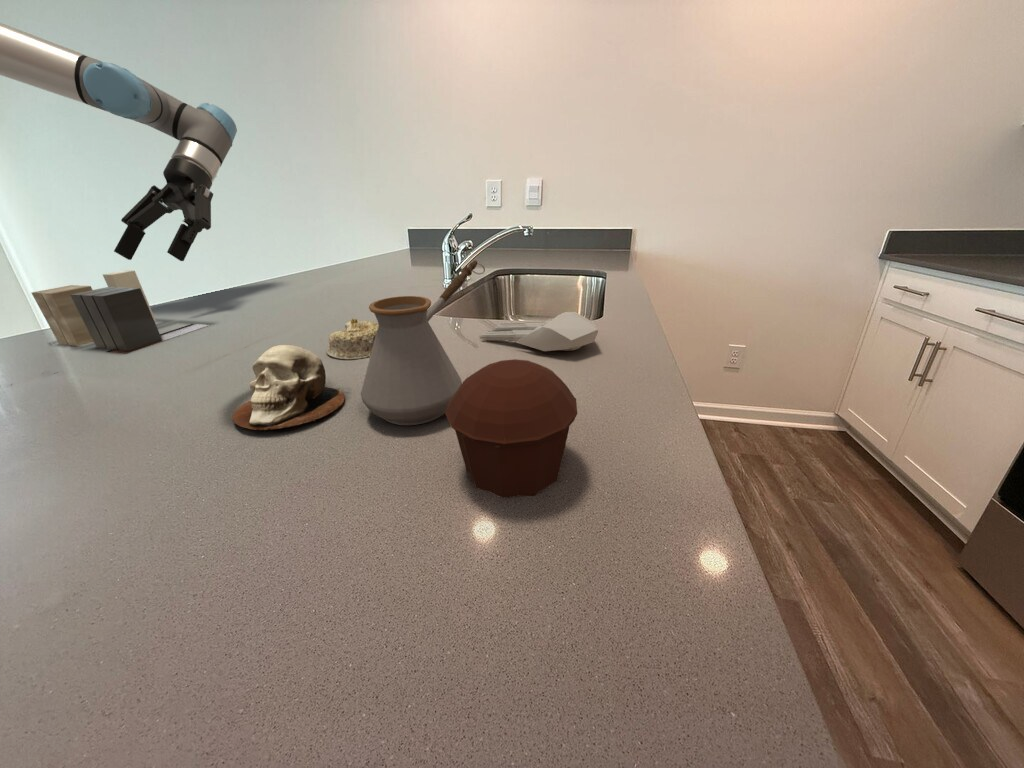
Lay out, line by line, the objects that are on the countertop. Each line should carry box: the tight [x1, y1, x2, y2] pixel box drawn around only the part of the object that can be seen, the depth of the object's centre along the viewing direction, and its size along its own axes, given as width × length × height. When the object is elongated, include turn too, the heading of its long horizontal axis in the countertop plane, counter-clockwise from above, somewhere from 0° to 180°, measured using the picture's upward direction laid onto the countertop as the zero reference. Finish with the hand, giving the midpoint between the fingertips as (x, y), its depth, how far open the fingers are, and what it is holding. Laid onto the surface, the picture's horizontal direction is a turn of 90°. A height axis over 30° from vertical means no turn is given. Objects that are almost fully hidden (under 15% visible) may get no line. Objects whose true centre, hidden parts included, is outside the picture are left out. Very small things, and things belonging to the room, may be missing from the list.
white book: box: [102, 269, 157, 323], centre depth 77 cm, size 2×4×10 cm, turn 165°
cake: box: [325, 318, 379, 360], centre depth 66 cm, size 10×10×5 cm
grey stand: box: [71, 286, 211, 355], centre depth 70 cm, size 8×15×10 cm, turn 166°
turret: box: [478, 311, 599, 352], centre depth 67 cm, size 10×20×5 cm, turn 61°
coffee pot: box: [360, 259, 486, 426], centre depth 49 cm, size 21×12×15 cm, turn 151°
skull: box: [231, 344, 346, 431], centre depth 49 cm, size 12×10×10 cm
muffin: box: [444, 358, 578, 499], centre depth 36 cm, size 12×11×10 cm
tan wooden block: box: [31, 284, 94, 347], centre depth 73 cm, size 8×15×10 cm, turn 165°
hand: (148, 256), depth 79 cm, fingers open, 13 cm apart
